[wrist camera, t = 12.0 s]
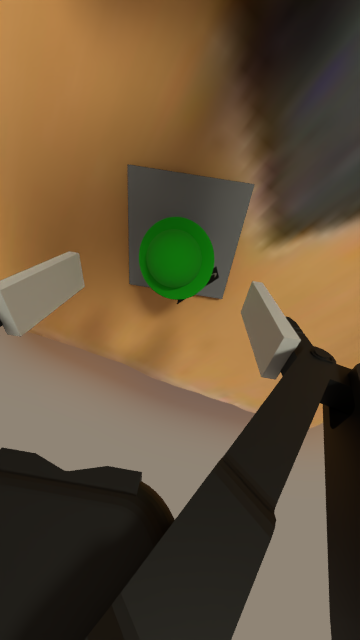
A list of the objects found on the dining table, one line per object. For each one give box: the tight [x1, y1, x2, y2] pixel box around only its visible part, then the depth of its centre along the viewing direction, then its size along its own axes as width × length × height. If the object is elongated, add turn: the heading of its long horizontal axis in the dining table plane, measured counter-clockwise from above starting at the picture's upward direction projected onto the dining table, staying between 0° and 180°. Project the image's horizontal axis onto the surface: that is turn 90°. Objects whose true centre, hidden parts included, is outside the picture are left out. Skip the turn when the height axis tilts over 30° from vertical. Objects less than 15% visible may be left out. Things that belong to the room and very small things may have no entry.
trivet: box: [128, 165, 254, 299], centre depth 32 cm, size 18×18×1 cm
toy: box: [139, 217, 219, 304], centre depth 25 cm, size 9×9×15 cm
